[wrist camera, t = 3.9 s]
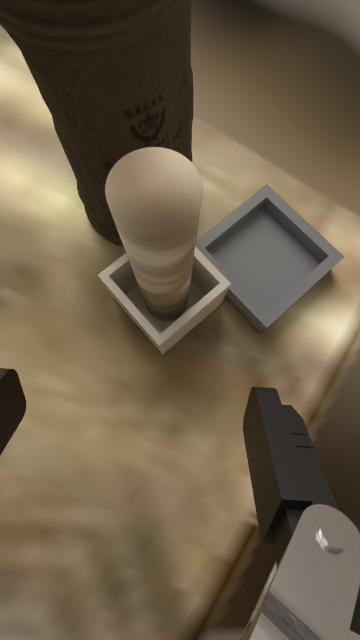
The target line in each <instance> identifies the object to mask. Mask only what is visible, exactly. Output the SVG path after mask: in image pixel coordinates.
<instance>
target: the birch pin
mask: <svg viewBox="0 0 360 640" xmlns="http://www.w3.org/2000/svg"><path fill="white" fill-rule="evenodd" d="M105 195H106V200H107V203H108V206H109V208H110V211H111V214H112V216H113V219H114V222H115V224H116V227H117V230H118V232H119V235H120V238H121V240H122V243H123V246H124V248H125V251H126V254H127V256H128V259H129V262H130V264H131V267H132V270H133V272H134V275H135V278H136V280H137V283H138V286H139V288H140V291H141V294H142V296H143V299H144V302H145V304H146V307H147V309H148V311H149V313H150V314H151V315H152V316H153V317H155V318H156V319H159V320H162V321H171V320H174V319H177V318H178V317H180V316H181V315H182V314H183V313H184V312H185V310H186V308H187V304H188V297H189V289H190V282H191V274H192V267H193V259H194V251H195V244H196V236H197V229H198V221H199V214H200V206H201V198H202V181H201V177H200V174H199V172H198V170H197V169H196V167H195V166H194V165H193V163H192V162H191V161H190V160H189V159H187V158H186V157H185V156H183V155H182V154H180V153H178V152H176V151H173V150H171V149H167V148H161V147H148V148H142V149H138V150H135V151H133V152H131V153H128V154H127V155H125V156H124V157H122V158H121V159H120V160H119V161H118V162H117V163H116V164H115V165H114V166H113V168H112V169H111V171H110V173H109V174H108V177H107V180H106V185H105Z"/></svg>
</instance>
